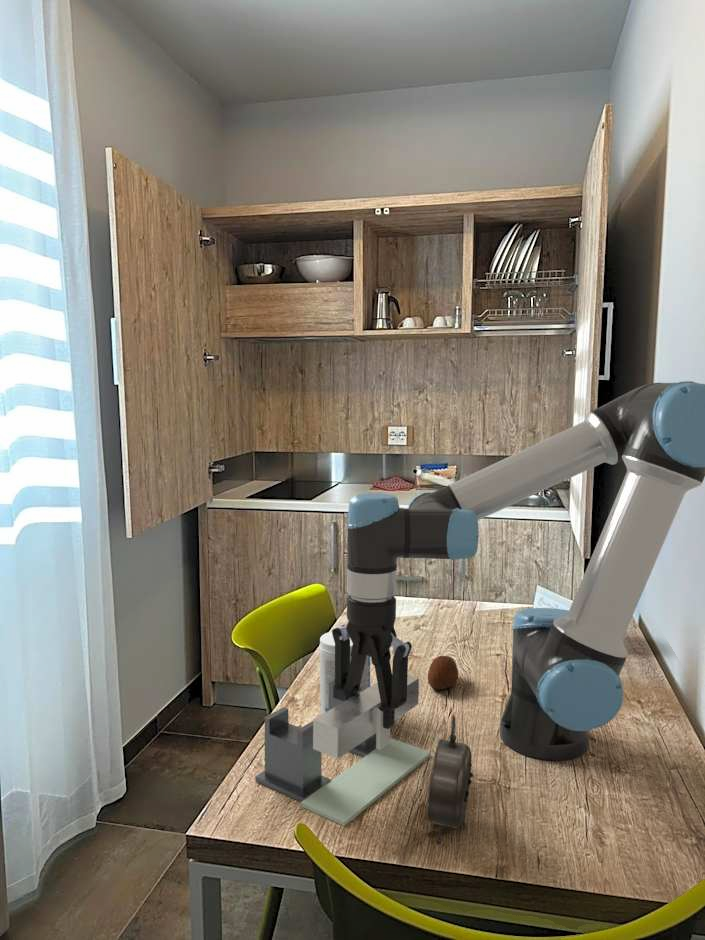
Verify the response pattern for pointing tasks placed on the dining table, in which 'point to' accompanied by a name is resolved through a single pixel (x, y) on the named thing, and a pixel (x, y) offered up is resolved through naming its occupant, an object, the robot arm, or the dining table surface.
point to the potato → (442, 672)
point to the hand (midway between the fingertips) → (369, 740)
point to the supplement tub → (329, 669)
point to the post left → (290, 758)
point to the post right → (338, 698)
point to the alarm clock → (449, 783)
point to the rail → (355, 720)
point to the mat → (365, 782)
